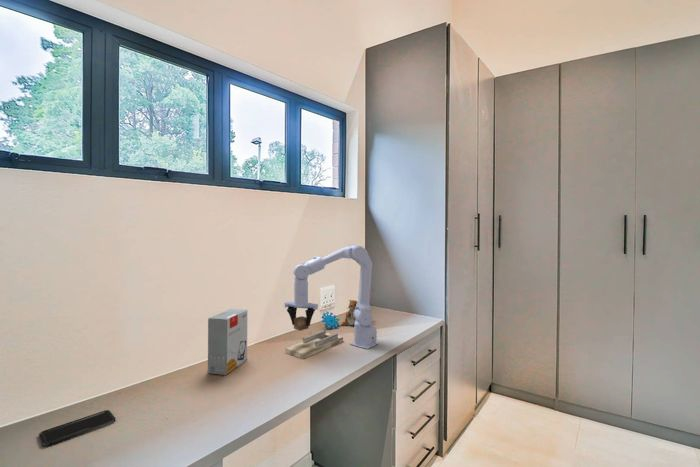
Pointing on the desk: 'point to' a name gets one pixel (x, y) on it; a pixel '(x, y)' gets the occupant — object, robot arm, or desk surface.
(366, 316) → the robot arm
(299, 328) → the walnut cube
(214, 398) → the desk surface
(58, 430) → the phone
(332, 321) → the gear
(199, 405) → the desk surface
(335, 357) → the desk surface
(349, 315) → the stuffed squirrel
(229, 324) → the hard drive box
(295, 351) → the channel board
